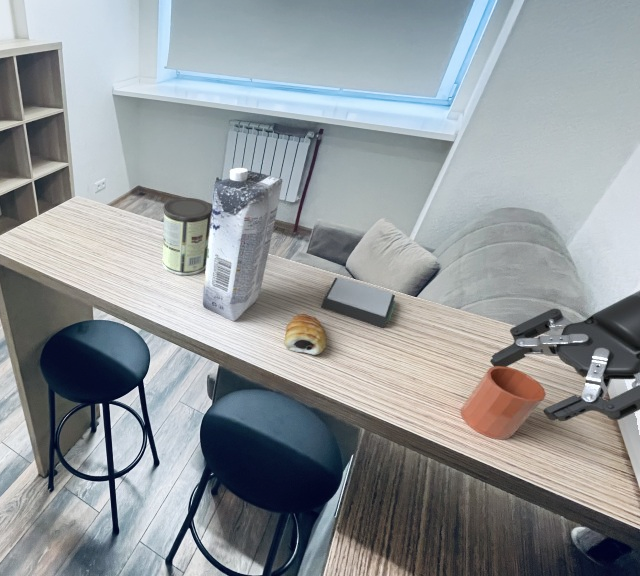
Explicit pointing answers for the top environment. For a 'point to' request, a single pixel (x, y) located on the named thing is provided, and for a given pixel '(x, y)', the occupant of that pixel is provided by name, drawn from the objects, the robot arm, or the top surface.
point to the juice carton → (239, 240)
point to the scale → (359, 301)
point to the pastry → (305, 335)
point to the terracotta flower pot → (502, 402)
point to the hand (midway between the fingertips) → (518, 389)
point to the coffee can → (186, 235)
